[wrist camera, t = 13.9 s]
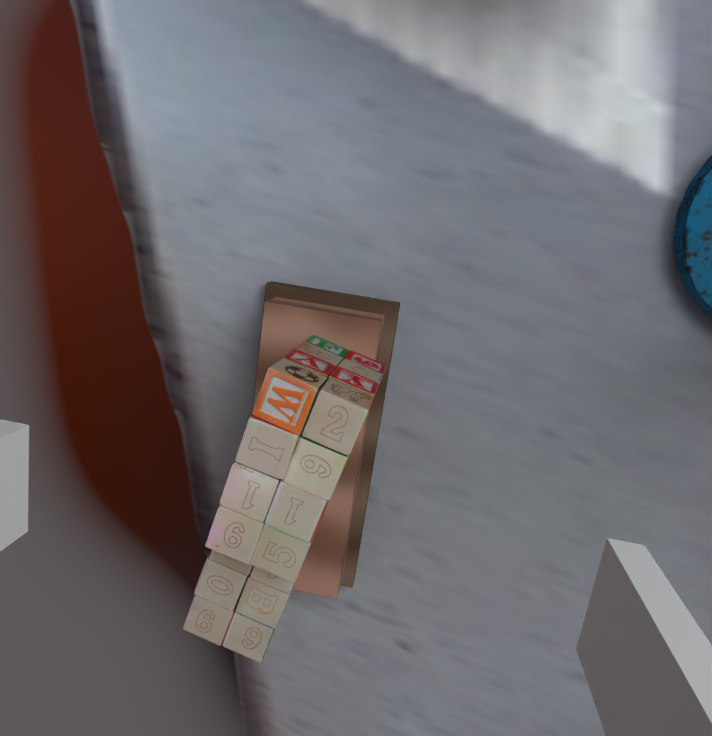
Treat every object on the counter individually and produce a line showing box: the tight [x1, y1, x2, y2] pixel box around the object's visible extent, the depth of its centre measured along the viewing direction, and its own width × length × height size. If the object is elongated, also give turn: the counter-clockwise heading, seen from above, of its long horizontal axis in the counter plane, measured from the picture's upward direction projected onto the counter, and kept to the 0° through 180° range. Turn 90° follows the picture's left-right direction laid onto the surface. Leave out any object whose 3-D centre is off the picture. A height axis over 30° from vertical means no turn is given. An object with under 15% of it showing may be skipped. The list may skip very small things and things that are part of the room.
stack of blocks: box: [183, 335, 386, 662], centre depth 41 cm, size 21×6×12 cm, turn 158°
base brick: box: [252, 281, 400, 599], centre depth 49 cm, size 26×11×5 cm, turn 172°
